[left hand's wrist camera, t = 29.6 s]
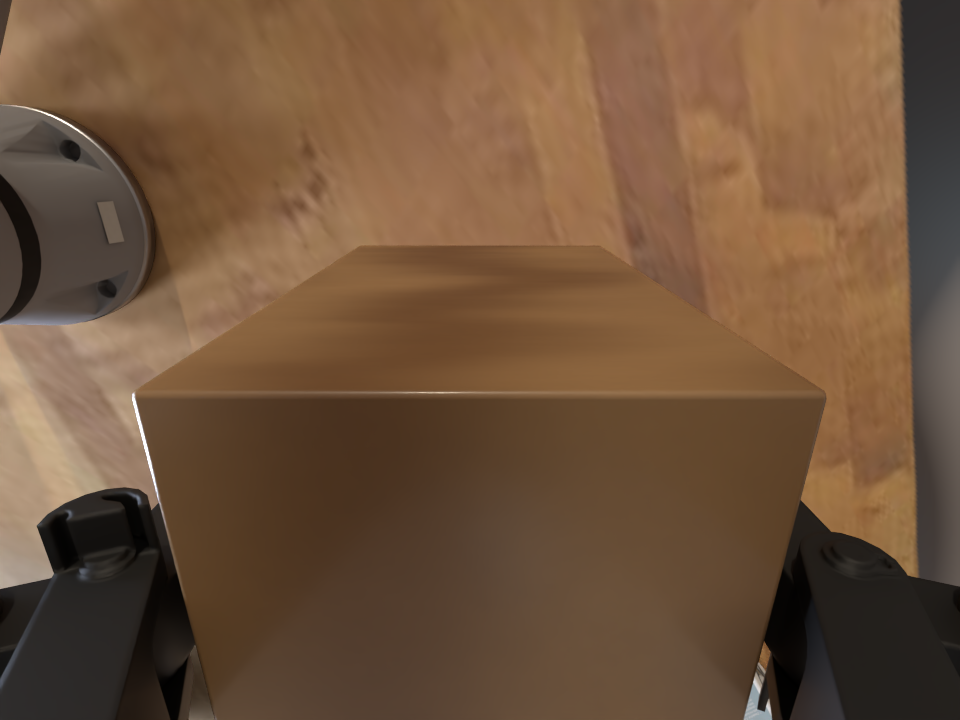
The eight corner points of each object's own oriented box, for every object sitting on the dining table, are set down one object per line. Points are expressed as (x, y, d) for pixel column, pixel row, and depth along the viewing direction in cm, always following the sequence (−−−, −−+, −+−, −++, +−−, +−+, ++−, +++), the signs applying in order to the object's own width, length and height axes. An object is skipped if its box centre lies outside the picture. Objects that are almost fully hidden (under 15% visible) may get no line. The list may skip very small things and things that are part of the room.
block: (601, 245, 16) (831, 391, 5) (583, 466, 18) (714, 845, 8) (358, 245, 16) (125, 391, 5) (376, 466, 18) (244, 843, 8)
